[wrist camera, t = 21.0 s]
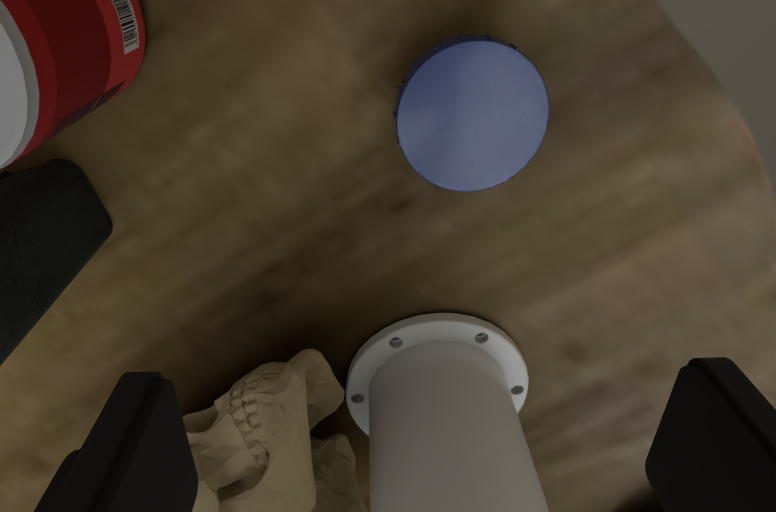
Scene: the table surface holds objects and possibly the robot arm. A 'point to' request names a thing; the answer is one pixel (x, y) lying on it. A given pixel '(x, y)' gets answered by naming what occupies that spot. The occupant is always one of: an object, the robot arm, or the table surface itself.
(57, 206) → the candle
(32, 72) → the canned food
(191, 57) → the table surface
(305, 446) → the skull
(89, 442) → the robot arm
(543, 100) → the lid
